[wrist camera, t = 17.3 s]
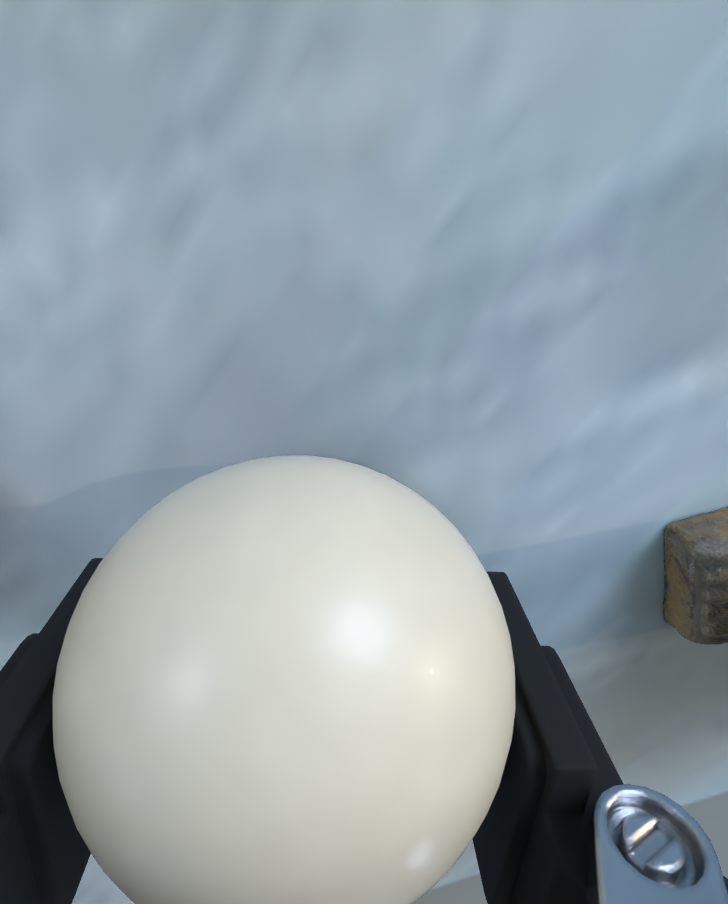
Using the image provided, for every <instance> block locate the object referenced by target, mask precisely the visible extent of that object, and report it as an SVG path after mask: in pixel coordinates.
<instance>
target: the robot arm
mask: <svg viewBox="0 0 728 904" xmlns="http://www.w3.org/2000/svg"><path fill="white" fill-rule="evenodd" d="M102 560H103V558H94V559H92V560H91V561H90V562H89V563H88V565H87V566H86V568H85V569H84V571H83V572H82V573H81V575H80V576H79V578H78V579H77V581H76V582H75V583H74V585H73V586H72V588H71V589H70V590H69V592H68V593H67V595H66V596H65V598H64V599H63V600H62V602H61V603H60V605H59V606H58V608H57V609H56V610H55V612H54V613H53V615H52V616H51V617H50V619H49V620H48V622H47V623H46V625H45V626H44V627H43V629H42V630H41V632H40V633H39V634H36V633H33V634H31V635H29V636H27V637H26V638H25V639H24V641H23V642H22V643H21V644H20V645H19V647H18V648H17V649H16V651H15V652H14V653H13V655H12V656H11V657H10V659H9V660H8V662H7V663H6V664H5V666H4V667H3V668H2V670H1V671H0V904H71V903H72V901H73V899H74V896H75V893H76V891H77V888H78V886H79V883H80V880H81V878H82V875H83V872H84V870H85V867H86V865H87V862H88V859H89V857H90V854H91V852H90V850H89V849H88V847H87V845H86V843H85V842H84V840H83V838H82V837H81V835H80V833H79V831H78V830H77V828H76V825H75V823H74V820H73V817H72V815H71V812H70V809H69V806H68V803H67V801H66V798H65V795H64V792H63V789H62V786H61V783H60V781H59V775H58V769H57V764H56V758H55V752H54V743H53V691H54V683H55V676H56V669H57V663H58V659H59V656H60V652H61V649H62V645H63V642H64V638H65V635H66V631H67V628H68V625H69V622H70V620H71V617H72V615H73V613H74V610H75V608H76V606H77V604H78V601H79V599H80V597H81V594H82V592H83V590H84V588H85V587H86V585H87V583H88V582H89V580H90V578H91V577H92V575H93V573H94V572H95V570H96V569H97V567H98V565H99V564H100V562H101V561H102ZM487 574H488V576H489V578H490V580H491V583H492V585H493V587H494V590H495V592H496V594H497V597H498V599H499V601H500V604H501V606H502V609H503V613H504V616H505V620H506V623H507V627H508V630H509V634H510V638H511V645H512V652H513V658H514V665H515V717H514V726H513V734H512V741H511V745H510V749H509V752H508V756H507V760H506V764H505V767H504V771H503V774H502V778H501V782H500V785H499V788H498V790H497V792H496V795H495V797H494V799H493V801H492V804H491V806H490V808H489V811H488V813H487V815H486V817H485V818H484V820H483V822H482V824H481V826H480V827H479V829H478V831H477V832H476V834H475V835H474V837H473V843H474V848H475V852H476V857H477V861H478V866H479V870H480V875H481V879H482V884H483V888H484V893H485V896H486V900H487V903H488V904H728V879H727V878H726V877H724V876H723V875H722V871H721V867H720V864H719V860H718V857H717V855H716V852H715V850H714V848H713V845H712V843H711V841H710V839H709V837H708V836H707V835H706V833H705V832H704V830H703V829H702V828H701V826H700V825H699V824H698V822H697V821H696V820H695V819H694V818H693V817H692V816H690V814H689V813H687V812H686V811H685V810H684V809H683V808H682V807H681V806H680V805H678V804H677V803H675V802H674V801H672V800H671V799H669V798H668V797H666V796H665V795H663V794H661V793H658V792H656V791H654V790H651V789H649V788H647V787H643V786H637V785H631V784H625V785H624V784H623V782H622V780H621V778H620V776H619V774H618V773H617V771H616V769H615V767H614V765H613V763H612V761H611V759H610V757H609V755H608V753H607V751H606V749H605V747H604V745H603V743H602V741H601V739H600V737H599V735H598V733H597V731H596V729H595V727H594V725H593V723H592V721H591V719H590V717H589V715H588V713H587V711H586V709H585V707H584V705H583V703H582V701H581V699H580V698H579V696H578V694H577V692H576V690H575V688H574V686H573V684H572V682H571V680H570V678H569V676H568V674H567V672H566V670H565V668H564V666H563V664H562V662H561V660H560V658H559V656H558V655H557V653H556V652H555V650H554V649H553V648H551V647H550V646H540V644H539V642H538V640H537V638H536V636H535V634H534V632H533V629H532V627H531V625H530V623H529V621H528V619H527V617H526V615H525V613H524V611H523V608H522V606H521V604H520V602H519V600H518V598H517V596H516V594H515V592H514V590H513V587H512V585H511V583H510V581H509V579H508V577H507V575H506V574H505V573H503V572H487Z"/></svg>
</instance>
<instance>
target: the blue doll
mask: <svg viewBox="0 0 728 904" xmlns="http://www.w3.org/2000/svg"><path fill="white" fill-rule="evenodd" d="M514 717H515V665H514V658H513V652H512V645H511V638H510V634H509V630H508V627H507V623H506V620H505V616H504V613H503V609H502V606H501V604H500V601H499V599H498V597H497V594H496V592H495V590H494V587H493V585H492V583H491V580H490V578H489V576H488V574H487V572H486V571H485V569H484V567H483V566H482V564H481V562H480V561H479V559H478V557H477V556H476V554H475V552H474V551H473V549H472V548H471V546H470V545H469V544H468V543H467V541H466V540H465V539H464V537H463V536H462V535H461V534H460V532H459V531H458V530H457V529H456V527H455V526H454V525H453V524H452V523H451V522H450V521H449V520H448V519H447V518H446V517H445V516H444V515H443V514H442V513H441V512H440V511H439V510H437V509H436V508H435V507H434V506H433V505H432V504H430V503H429V502H428V501H426V500H425V499H424V498H422V497H421V496H420V495H418V494H417V493H416V492H414V491H413V490H412V489H410V488H408V487H406V486H404V485H403V484H401V483H399V482H397V481H396V480H394V479H392V478H390V477H389V476H387V475H384V474H382V473H379V472H377V471H374V470H372V469H369V468H367V467H364V466H362V465H358V464H354V463H350V462H346V461H342V460H338V459H333V458H325V457H317V456H309V455H294V456H274V457H267V458H259V459H252V460H248V461H245V462H241V463H237V464H234V465H230V466H226V467H223V468H221V469H218V470H216V471H213V472H211V473H209V474H206V475H204V476H201V477H199V478H197V479H195V480H193V481H191V482H190V483H188V484H186V485H184V486H183V487H181V488H179V489H177V490H176V491H174V492H172V493H170V494H169V495H168V496H166V497H165V498H164V499H162V500H161V501H160V502H158V503H157V504H156V505H155V506H153V507H152V508H151V509H149V510H148V511H147V512H145V513H144V514H143V515H142V516H141V517H140V518H139V519H138V520H137V521H136V522H135V523H134V524H133V525H132V526H131V527H130V528H129V529H128V530H127V531H126V532H125V533H124V534H123V535H122V536H121V537H120V538H119V539H118V541H117V542H116V543H115V544H114V546H113V547H112V548H111V549H110V551H109V552H108V553H107V554H106V556H105V557H104V558H103V560H102V561H101V562H100V564H99V565H98V567H97V569H96V570H95V572H94V573H93V575H92V577H91V578H90V580H89V582H88V583H87V585H86V587H85V588H84V590H83V592H82V594H81V597H80V599H79V601H78V604H77V606H76V608H75V610H74V613H73V615H72V617H71V620H70V622H69V625H68V628H67V631H66V635H65V638H64V642H63V645H62V649H61V652H60V656H59V659H58V663H57V669H56V676H55V683H54V691H53V743H54V752H55V758H56V764H57V769H58V775H59V781H60V783H61V786H62V789H63V792H64V795H65V798H66V801H67V803H68V806H69V809H70V812H71V815H72V817H73V820H74V823H75V825H76V828H77V830H78V831H79V833H80V835H81V837H82V838H83V840H84V842H85V843H86V845H87V847H88V849H89V850H90V852H91V854H92V855H93V857H94V858H95V860H96V861H97V863H98V864H99V865H100V867H101V868H102V870H103V871H104V872H105V874H106V875H107V876H108V877H109V878H110V879H111V880H112V881H113V882H114V883H115V884H116V885H117V887H118V888H119V889H120V890H121V891H122V892H123V893H124V894H125V895H126V896H127V897H128V898H129V899H130V900H132V901H133V902H134V903H135V904H414V903H416V902H417V901H418V900H419V899H420V898H422V897H423V896H424V895H425V894H426V893H427V892H429V891H430V890H431V889H432V888H433V887H434V885H435V884H436V883H437V882H438V881H439V880H440V879H441V878H442V877H443V876H444V875H445V874H446V873H447V872H448V871H449V870H450V868H451V867H452V866H453V865H454V864H455V863H456V861H457V860H458V859H459V858H460V857H461V856H462V854H463V852H464V851H465V849H466V848H467V846H468V845H469V843H470V842H471V840H472V839H473V837H474V835H475V834H476V832H477V831H478V829H479V827H480V826H481V824H482V822H483V820H484V818H485V817H486V815H487V813H488V811H489V808H490V806H491V804H492V801H493V799H494V797H495V795H496V792H497V790H498V788H499V785H500V782H501V778H502V774H503V771H504V767H505V764H506V760H507V756H508V752H509V749H510V745H511V741H512V734H513V726H514Z"/></svg>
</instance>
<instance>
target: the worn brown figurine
mask: <svg viewBox="0 0 728 904" xmlns="http://www.w3.org/2000/svg"><path fill="white" fill-rule="evenodd" d="M666 527H667V528H666V530H665V540H666V541H665V551H664V552H665V556H666V558H665V560H664V562H665V571H666V575H665V589H666V592H665V595H666V598H665V601H664V602H663V604H664V605H665V608H664V619H665V621H666V622H667V623H668V624H671V625H672V626H674V627H675V628H676V629H677V631H678V632H679V633H680V634H681V635H682V636H683V637H684V638H686V639H688V640H690V641H693V642H696V643H700V644H722V643H727V642H728V507H727V508H722V509H719V510H717V511H715V513H712V512H709V513H701V514H699V515H696V516H694V517H691V518H687V519H683V520H680V521H677V522H672V523H671V524H670V525H667V526H666Z"/></svg>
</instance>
